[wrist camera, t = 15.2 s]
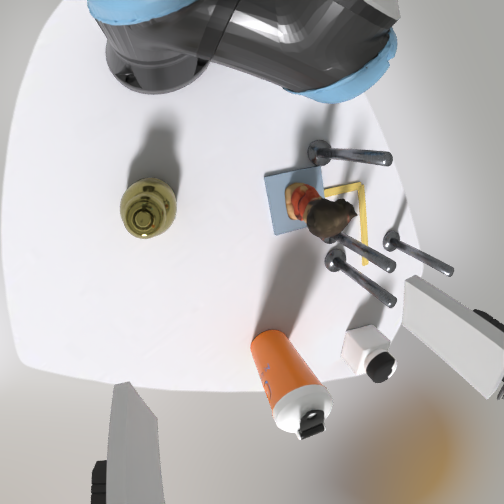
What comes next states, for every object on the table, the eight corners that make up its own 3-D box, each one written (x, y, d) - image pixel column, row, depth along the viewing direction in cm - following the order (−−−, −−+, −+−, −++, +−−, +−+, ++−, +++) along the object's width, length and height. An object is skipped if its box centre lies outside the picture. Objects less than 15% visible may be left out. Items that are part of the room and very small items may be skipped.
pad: (263, 177, 41) (265, 177, 40) (318, 165, 42) (320, 166, 42) (274, 234, 44) (275, 235, 44) (325, 220, 46) (327, 221, 45)
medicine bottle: (339, 356, 58) (368, 391, 47) (345, 330, 56) (377, 364, 45) (365, 348, 60) (395, 380, 49) (372, 323, 57) (405, 354, 47)
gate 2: (323, 252, 48) (381, 295, 33) (397, 228, 51) (459, 256, 36) (325, 273, 49) (380, 320, 35) (397, 247, 52) (456, 279, 38)
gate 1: (305, 142, 41) (371, 142, 26) (328, 138, 41) (398, 139, 27) (320, 245, 47) (379, 286, 33) (340, 239, 48) (402, 276, 33)
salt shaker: (172, 172, 37) (172, 178, 28) (179, 224, 40) (182, 246, 31) (121, 182, 36) (104, 191, 27) (130, 233, 39) (118, 257, 29)
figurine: (299, 172, 41) (342, 182, 30) (322, 197, 44) (367, 214, 33) (271, 203, 42) (306, 223, 31) (295, 227, 44) (335, 253, 33)
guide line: (321, 190, 44) (322, 190, 44) (362, 181, 45) (363, 181, 45) (330, 276, 50) (331, 277, 50) (367, 263, 51) (368, 264, 51)
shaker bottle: (284, 317, 50) (338, 395, 32) (296, 350, 54) (344, 425, 36) (238, 337, 49) (274, 426, 31) (254, 369, 53) (290, 451, 35)
